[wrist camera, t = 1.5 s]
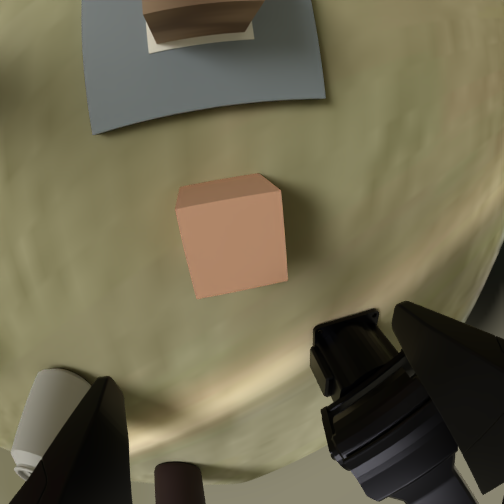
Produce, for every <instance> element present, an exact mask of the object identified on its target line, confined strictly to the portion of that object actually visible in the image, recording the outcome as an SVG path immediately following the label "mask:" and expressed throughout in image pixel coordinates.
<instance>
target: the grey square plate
mask: <svg viewBox="0 0 504 504" xmlns="http://www.w3.org/2000/svg"><path fill="white" fill-rule="evenodd" d="M82 48H83V63H84V75H85V85H86V94H87V102H88V109H89V116H90V122H91V129H92V135H97V134H101V133H104V132H107V131H111V130H114V129H118V128H121V127H125V126H129V125H133V124H137V123H141V122H145V121H149V120H153V119H157V118H162V117H167V116H171V115H176V114H181V113H187V112H192V111H198V110H204V109H210V108H217V107H224V106H232V105H240V104H249V103H259V102H271V101H285V100H307V99H324V98H326V96H325V87H324V79H323V71H322V63H321V56H320V49H319V43H318V36H317V30H316V24H315V19H314V13H313V8H312V3H311V0H265V1H264V3H263V4H262V6H261V7H260V9H259V10H258V12H257V13H256V15H255V16H254V18H253V20H252V21H251V23H250V24H249V26H248V28H247V29H246V31H245V32H239V33H226V34H216V35H208V36H200V37H193V38H187V39H181V40H175V41H170V42H165V43H160V44H156V42H155V40H154V37H153V35H152V33H151V31H150V29H149V27H148V25H147V22H146V20H145V18H144V16H143V9H142V0H82Z"/></svg>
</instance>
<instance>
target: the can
mask: <svg viewBox="0 0 504 504" xmlns="http://www.w3.org/2000/svg"><path fill="white" fill-rule="evenodd" d="M90 387H91V385H90V384H89V383H88V382H87V381H86V380H85V379H83V378H82V377H80V376H79V375H77V374H75V373H73V372H71V371H68V370H65V369H60V368H54V369H44V370H42V371H40V372H38V374H37V376H36V378H35V380H34V383H33V385H32V388H31V391H30V393H29V396H28V399H27V401H26V404H25V407H24V410H23V413H22V416H21V419H20V422H19V425H18V429H17V432H16V435H15V439H14V442H13V446H12V450H11V455H12V457H13V458H14V461H15V463H16V464H17V466H16V467H15V468H14V470H15V472H16V473H17V474H18V475H19V476H20V477H21V478H22V479H24V480H25V481H27V479H28V478H29V476H30V475H31V473H32V472H33V470H34V469H35V467H36V466H37V464H38V463H39V461H40V460H41V459H42V457H43V455H44V454H45V452H46V451H47V449H48V448H49V446H50V445H51V443H52V442H53V440H54V439H55V437H56V436H57V434H58V433H59V431H60V430H61V428H62V427H63V425H64V424H65V422H66V421H67V420H68V418H69V417H70V415H71V414H72V412H73V411H74V410H75V408H76V407H77V405H78V404H79V402H80V401H81V400H82V398H83V397H84V395H85V394H86V393H87V391H88V390H89V389H90Z"/></svg>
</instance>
